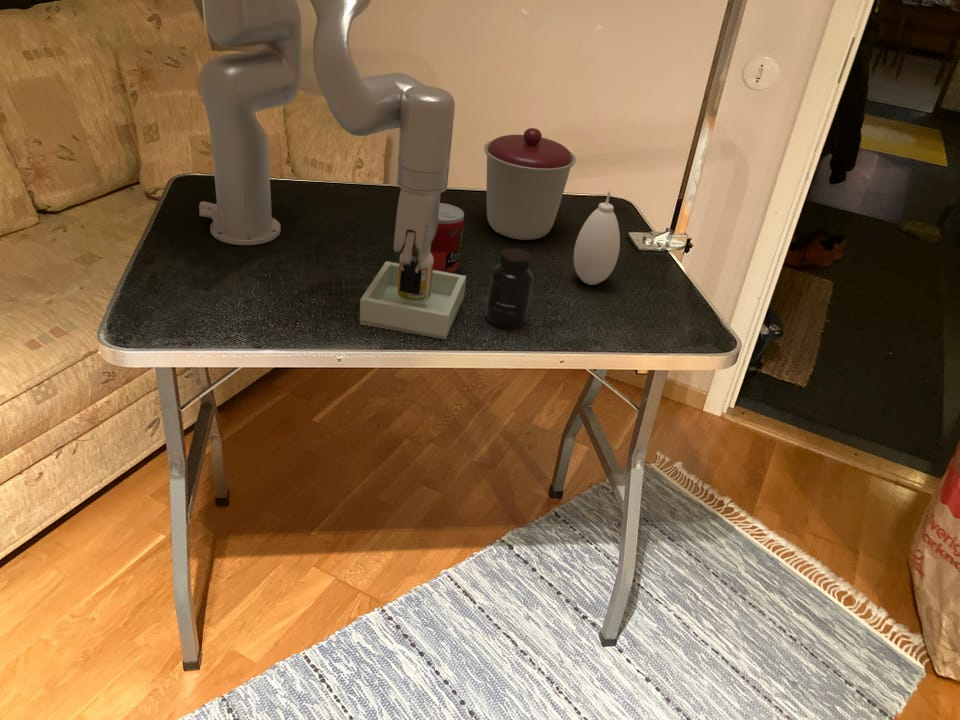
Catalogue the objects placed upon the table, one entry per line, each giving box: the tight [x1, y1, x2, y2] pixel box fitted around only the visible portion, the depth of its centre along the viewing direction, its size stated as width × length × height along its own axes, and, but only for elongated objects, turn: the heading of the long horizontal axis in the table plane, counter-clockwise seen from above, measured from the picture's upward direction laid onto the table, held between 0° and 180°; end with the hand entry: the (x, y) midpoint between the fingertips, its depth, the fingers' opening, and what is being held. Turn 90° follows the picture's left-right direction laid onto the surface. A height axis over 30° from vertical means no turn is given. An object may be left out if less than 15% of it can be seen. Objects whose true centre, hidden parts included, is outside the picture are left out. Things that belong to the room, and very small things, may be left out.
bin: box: [359, 260, 467, 341], centre depth 122 cm, size 14×14×4 cm
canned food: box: [430, 202, 465, 274], centre depth 134 cm, size 8×8×11 cm
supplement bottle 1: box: [398, 244, 434, 303], centre depth 119 cm, size 5×5×10 cm
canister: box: [483, 127, 577, 241], centre depth 149 cm, size 18×18×21 cm
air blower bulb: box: [573, 190, 621, 286], centre depth 134 cm, size 8×8×18 cm
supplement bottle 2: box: [485, 247, 534, 330], centre depth 121 cm, size 7×7×12 cm
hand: (414, 282), depth 120 cm, fingers closed on supplement bottle 1, 5 cm apart
